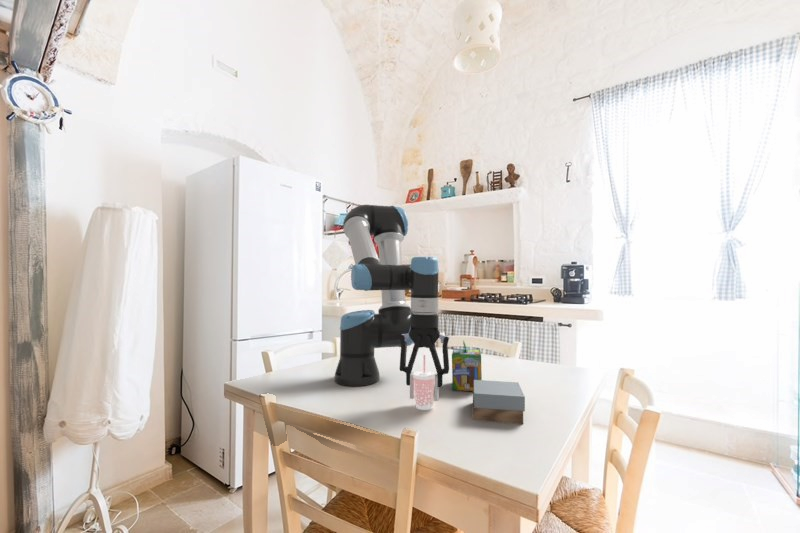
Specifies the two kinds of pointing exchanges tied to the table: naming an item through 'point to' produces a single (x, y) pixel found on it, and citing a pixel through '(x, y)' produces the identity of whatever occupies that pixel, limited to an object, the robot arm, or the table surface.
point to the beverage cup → (424, 388)
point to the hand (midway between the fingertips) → (424, 397)
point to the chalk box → (465, 368)
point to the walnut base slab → (497, 415)
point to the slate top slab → (498, 395)
